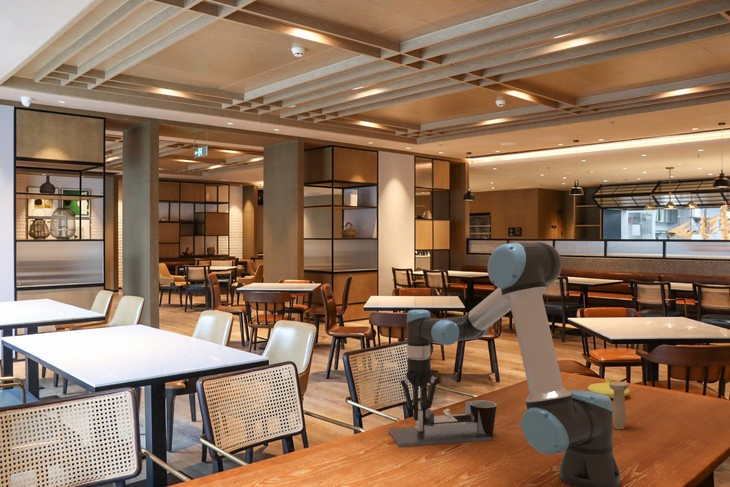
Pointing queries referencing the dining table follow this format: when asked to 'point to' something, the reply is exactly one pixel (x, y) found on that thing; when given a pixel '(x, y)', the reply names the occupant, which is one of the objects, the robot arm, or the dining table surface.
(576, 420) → the robot arm
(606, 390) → the yellow pot lid
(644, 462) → the dining table surface
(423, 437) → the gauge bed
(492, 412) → the coffee mug
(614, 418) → the handle
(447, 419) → the grey bracket
